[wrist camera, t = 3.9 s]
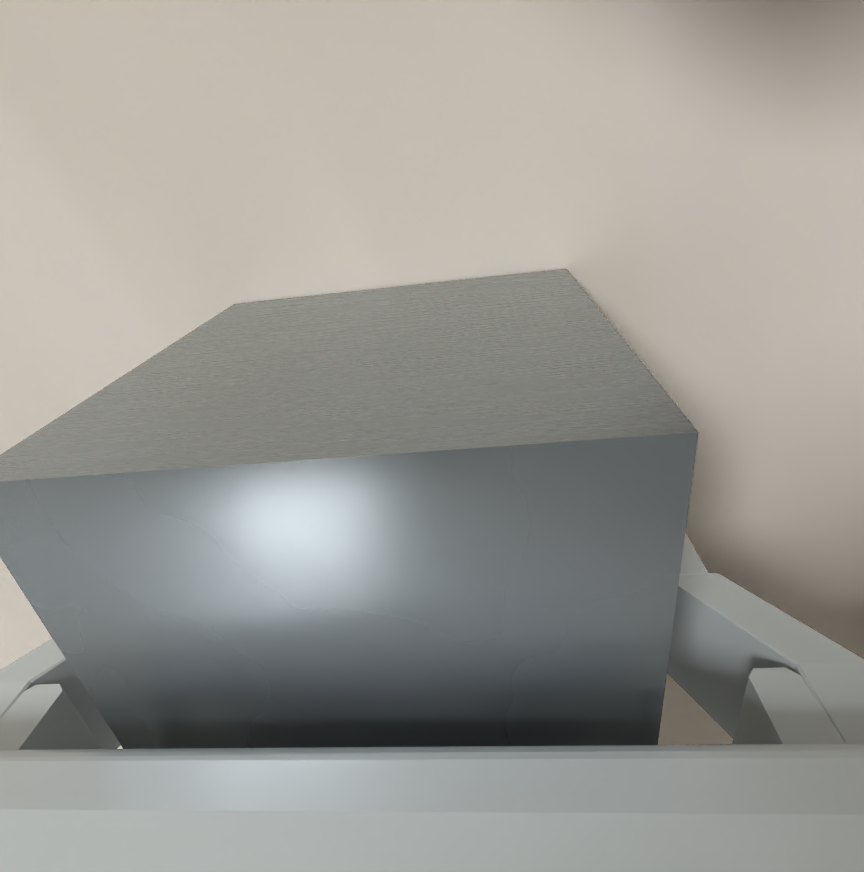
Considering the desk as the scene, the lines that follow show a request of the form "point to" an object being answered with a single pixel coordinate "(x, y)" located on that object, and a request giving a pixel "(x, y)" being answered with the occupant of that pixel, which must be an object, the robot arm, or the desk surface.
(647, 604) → the stepped gray block
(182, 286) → the desk surface
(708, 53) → the desk surface
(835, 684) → the robot arm
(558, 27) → the desk surface
